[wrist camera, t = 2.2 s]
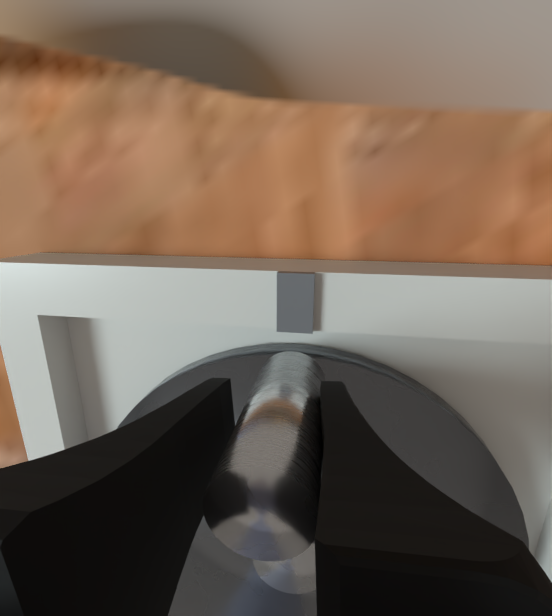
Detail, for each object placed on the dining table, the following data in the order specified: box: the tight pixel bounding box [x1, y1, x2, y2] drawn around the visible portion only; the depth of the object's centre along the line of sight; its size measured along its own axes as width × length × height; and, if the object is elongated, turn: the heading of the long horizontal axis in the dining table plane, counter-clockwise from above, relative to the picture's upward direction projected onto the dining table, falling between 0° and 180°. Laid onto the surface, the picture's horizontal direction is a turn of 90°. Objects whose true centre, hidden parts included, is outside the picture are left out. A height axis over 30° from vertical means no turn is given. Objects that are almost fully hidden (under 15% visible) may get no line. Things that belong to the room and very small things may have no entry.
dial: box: [117, 344, 529, 616], centre depth 12 cm, size 18×18×7 cm
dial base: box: [0, 252, 552, 582], centre depth 16 cm, size 24×24×3 cm
